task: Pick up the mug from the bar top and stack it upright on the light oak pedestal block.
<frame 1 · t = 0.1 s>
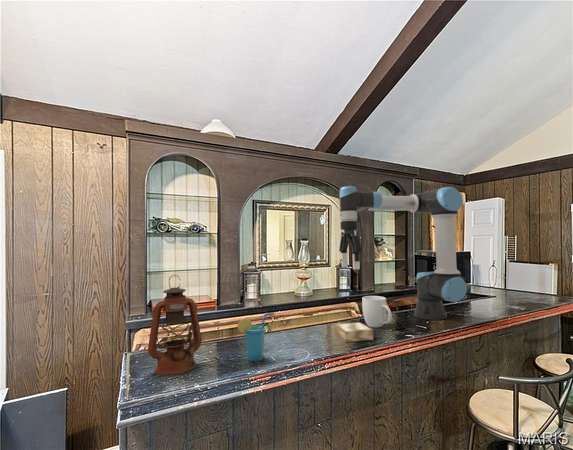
hand: (350, 268, 143), 28 cm above the counter, fingers open, 13 cm apart
pedestal: (353, 336, 134), on the counter
mug: (376, 326, 149), on the counter
lantern: (175, 367, 104), on the counter
cup: (257, 358, 111), on the counter
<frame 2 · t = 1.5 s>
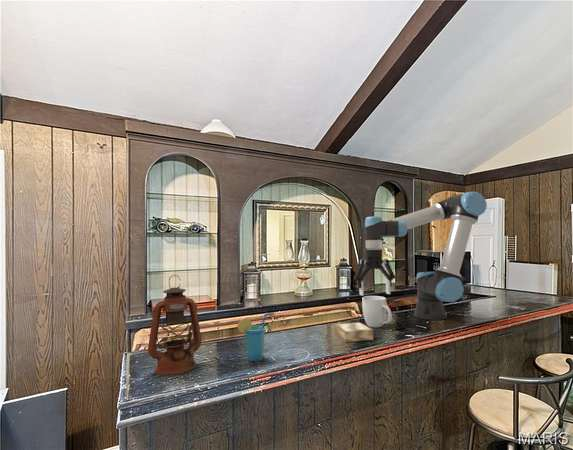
hand: (375, 294, 150), 15 cm above the counter, fingers open, 13 cm apart
nothing on the counter moved.
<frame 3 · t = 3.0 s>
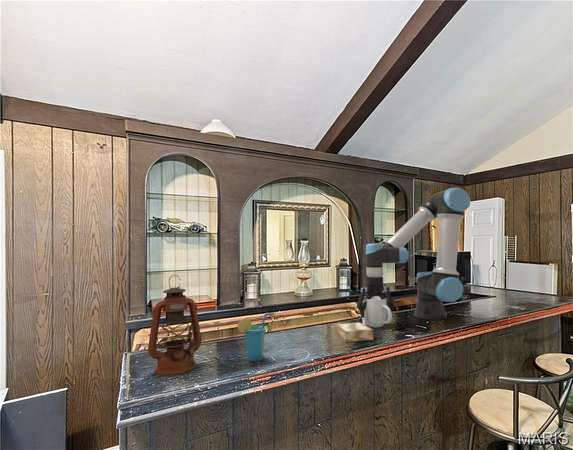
hand: (376, 323, 149), 1 cm above the counter, fingers closed on mug, 11 cm apart
mug: (376, 326, 149), on the counter, touching gripper
everything else where it was.
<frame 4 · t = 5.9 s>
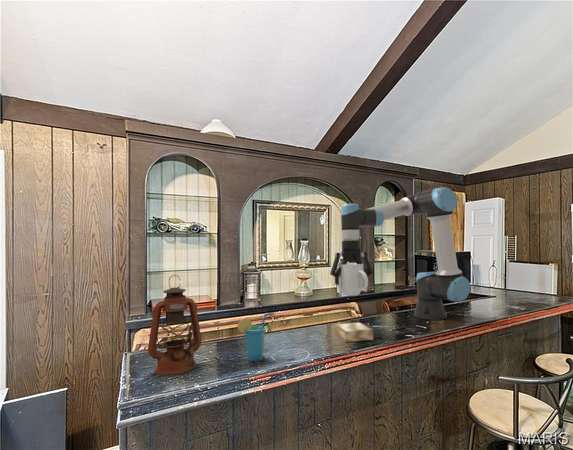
hand: (352, 292, 135), 18 cm above the counter, fingers closed on mug, 11 cm apart
mug: (353, 295, 135), point 17 cm above the counter, touching gripper
everything else where it was.
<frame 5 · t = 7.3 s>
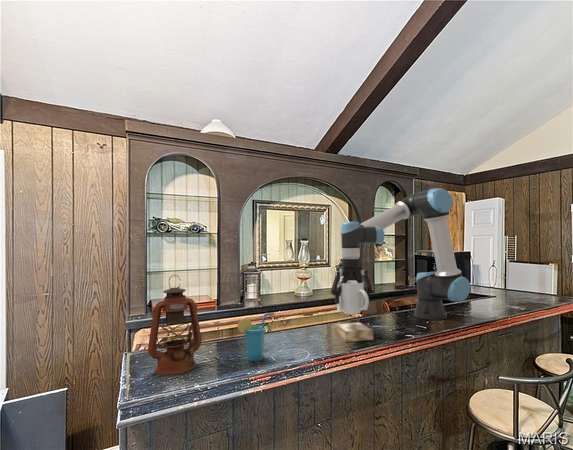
hand: (352, 310, 134), 11 cm above the counter, fingers closed on mug, 11 cm apart
mug: (353, 313, 134), point 9 cm above the counter, touching gripper
everything else where it was.
when the fingers open (7 cm above the counter, at t = 8.6 s): mug drops 2 cm, resting on pedestal.
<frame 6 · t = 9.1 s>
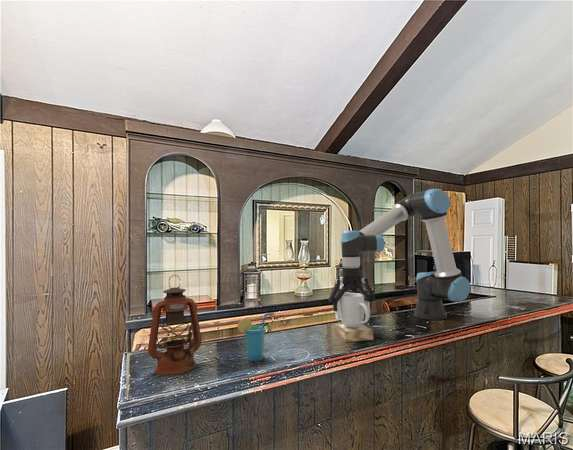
hand: (352, 317, 134), 8 cm above the counter, fingers open, 13 cm apart
mug: (353, 326, 134), point 4 cm above the counter, touching pedestal
everything else where it was.
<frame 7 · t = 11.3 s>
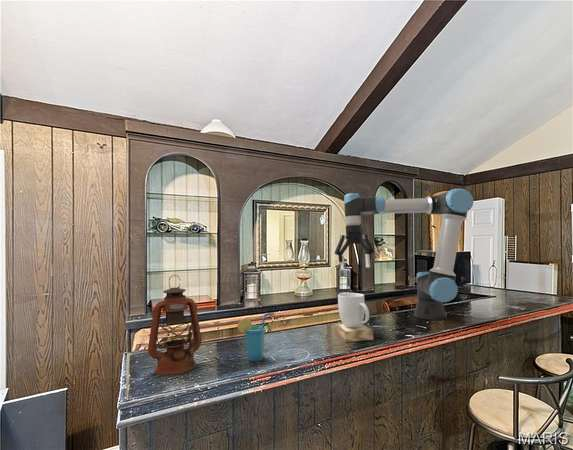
hand: (355, 268, 156), 27 cm above the counter, fingers open, 13 cm apart
nothing on the counter moved.
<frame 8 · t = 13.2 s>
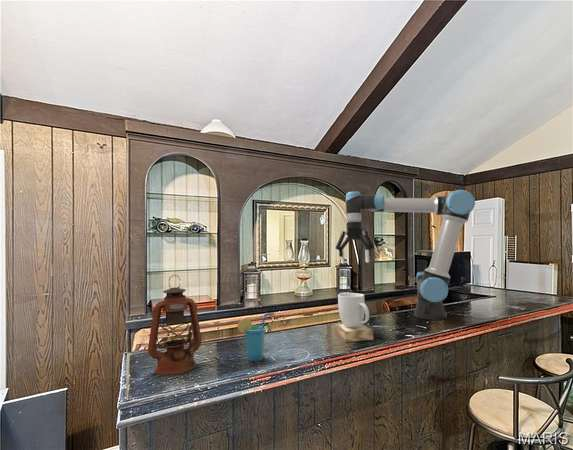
hand: (355, 262, 164), 29 cm above the counter, fingers open, 13 cm apart
nothing on the counter moved.
at the end: mug inside the target area on the pedestal (0.3 cm from its centre), point 3.9 cm above the pedestal's base; mug tilted 0°; the gripper is holding nothing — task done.
